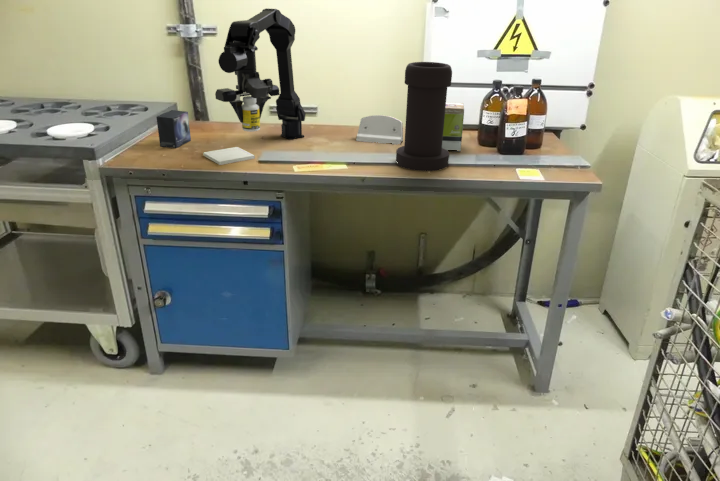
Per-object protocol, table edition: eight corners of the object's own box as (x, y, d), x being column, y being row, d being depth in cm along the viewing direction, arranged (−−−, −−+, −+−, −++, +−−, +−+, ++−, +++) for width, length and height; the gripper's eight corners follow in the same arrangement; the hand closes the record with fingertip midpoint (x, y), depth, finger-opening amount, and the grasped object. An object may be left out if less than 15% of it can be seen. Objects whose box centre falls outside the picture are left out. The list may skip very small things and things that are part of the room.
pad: (237, 149, 178) (237, 146, 178) (254, 158, 170) (254, 155, 169) (203, 155, 171) (203, 152, 171) (219, 164, 163) (219, 161, 163)
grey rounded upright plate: (355, 140, 191) (357, 112, 190) (358, 142, 196) (360, 114, 195) (401, 144, 188) (404, 116, 187) (402, 145, 193) (405, 117, 191)
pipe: (448, 157, 175) (457, 62, 162) (447, 173, 161) (457, 69, 148) (398, 153, 178) (403, 59, 165) (393, 169, 163) (398, 67, 150)
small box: (177, 149, 178) (173, 117, 173) (159, 147, 179) (154, 116, 174) (192, 140, 187) (188, 110, 182) (175, 139, 188) (171, 109, 184)
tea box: (460, 144, 190) (464, 102, 184) (460, 152, 181) (465, 108, 175) (417, 142, 192) (420, 100, 185) (416, 149, 183) (419, 106, 177)
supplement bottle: (252, 132, 160) (250, 100, 156) (238, 130, 163) (236, 97, 158) (264, 129, 165) (262, 96, 160) (250, 126, 167) (248, 94, 163)
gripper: (230, 74, 145) (235, 131, 152) (288, 69, 156) (290, 122, 163) (211, 69, 153) (217, 123, 160) (268, 64, 163) (271, 115, 170)
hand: (250, 121), depth 163 cm, fingers closed on supplement bottle, 5 cm apart
